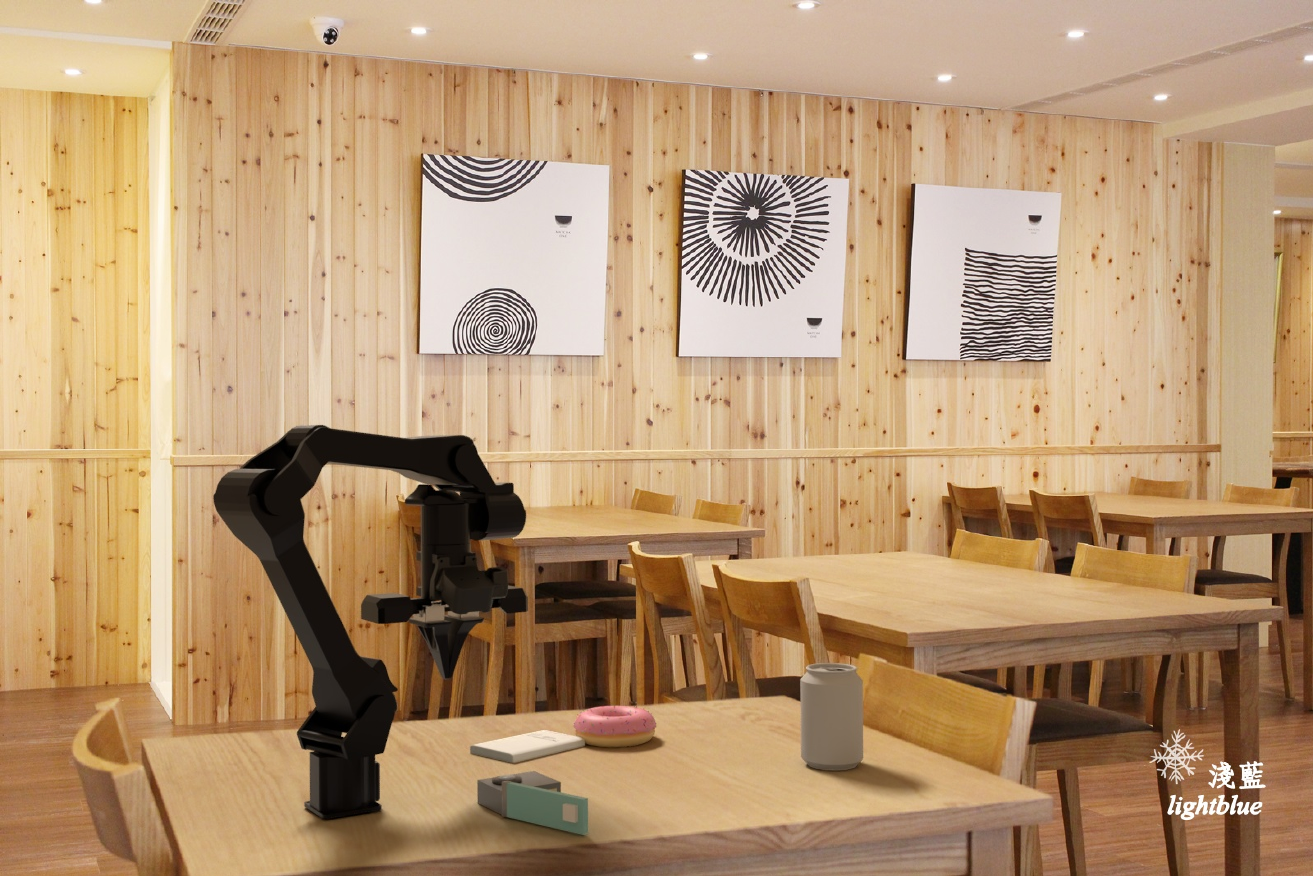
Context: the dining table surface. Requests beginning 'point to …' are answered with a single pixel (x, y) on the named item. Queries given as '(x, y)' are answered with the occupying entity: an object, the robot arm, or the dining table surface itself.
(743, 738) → the dining table surface
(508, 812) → the side door
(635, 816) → the dining table surface
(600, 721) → the doughnut
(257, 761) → the dining table surface
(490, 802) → the camera body
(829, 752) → the can
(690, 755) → the dining table surface
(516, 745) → the external hard drive
